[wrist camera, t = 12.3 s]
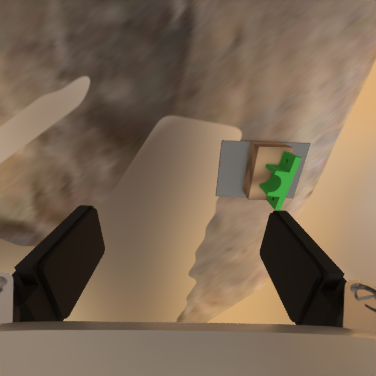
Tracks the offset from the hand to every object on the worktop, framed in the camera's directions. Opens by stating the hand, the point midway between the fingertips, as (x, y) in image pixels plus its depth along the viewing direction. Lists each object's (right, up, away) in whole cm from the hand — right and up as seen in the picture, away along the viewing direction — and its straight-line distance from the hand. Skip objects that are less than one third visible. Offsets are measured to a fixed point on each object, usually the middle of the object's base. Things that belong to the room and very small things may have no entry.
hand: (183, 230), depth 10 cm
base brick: (+18, +7, +33) cm, 38 cm away
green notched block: (+18, +5, +29) cm, 34 cm away
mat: (+18, +6, +34) cm, 39 cm away
